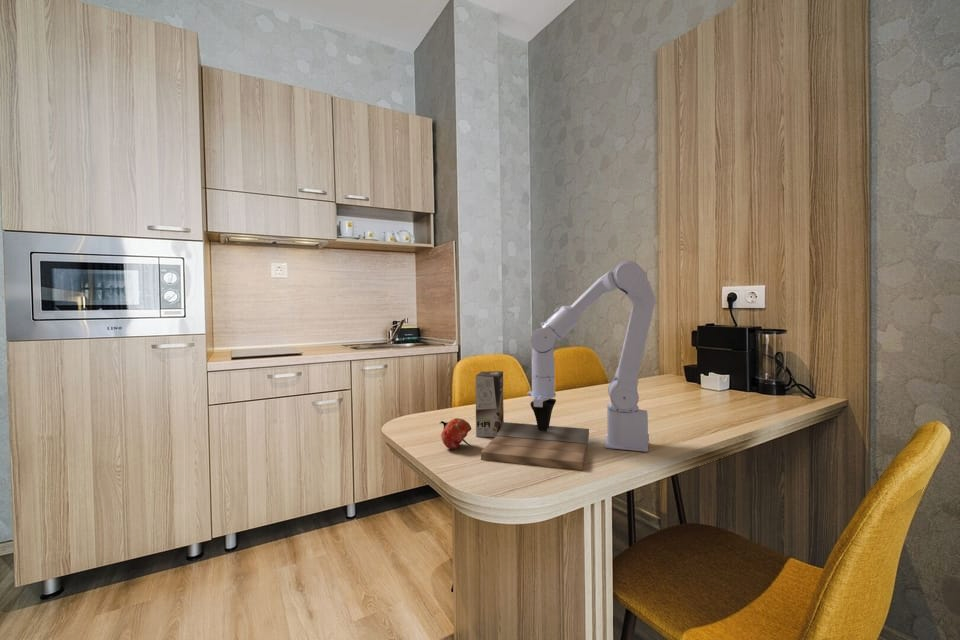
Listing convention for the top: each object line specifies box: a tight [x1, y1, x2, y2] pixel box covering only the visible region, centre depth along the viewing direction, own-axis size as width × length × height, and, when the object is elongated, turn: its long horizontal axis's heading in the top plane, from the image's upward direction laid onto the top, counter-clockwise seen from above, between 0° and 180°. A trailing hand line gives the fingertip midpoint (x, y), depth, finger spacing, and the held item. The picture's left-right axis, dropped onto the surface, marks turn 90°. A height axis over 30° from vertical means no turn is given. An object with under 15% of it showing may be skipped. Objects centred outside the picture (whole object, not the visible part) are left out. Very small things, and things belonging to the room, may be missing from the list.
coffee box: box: [474, 370, 505, 438], centre depth 114 cm, size 9×6×16 cm
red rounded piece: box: [439, 417, 474, 451], centre depth 103 cm, size 7×7×10 cm
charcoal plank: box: [497, 421, 590, 446], centre depth 106 cm, size 22×7×2 cm, turn 71°
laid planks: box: [480, 436, 588, 471], centre depth 97 cm, size 22×12×2 cm, turn 71°
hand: (543, 429), depth 107 cm, fingers closed, pressing on charcoal plank
